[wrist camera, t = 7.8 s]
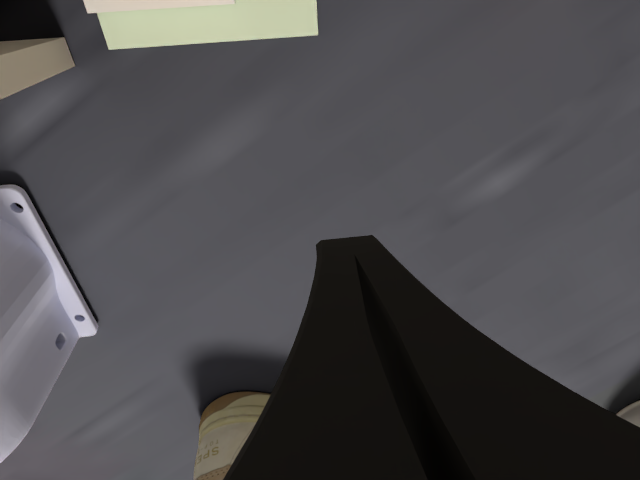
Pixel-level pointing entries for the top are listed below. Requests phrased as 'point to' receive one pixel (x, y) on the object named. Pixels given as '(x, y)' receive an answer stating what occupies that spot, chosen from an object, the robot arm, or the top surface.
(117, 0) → the cream and orange bar
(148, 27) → the pad
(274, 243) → the top surface
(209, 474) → the boat shoe
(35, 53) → the tunnel
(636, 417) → the lidded jar
